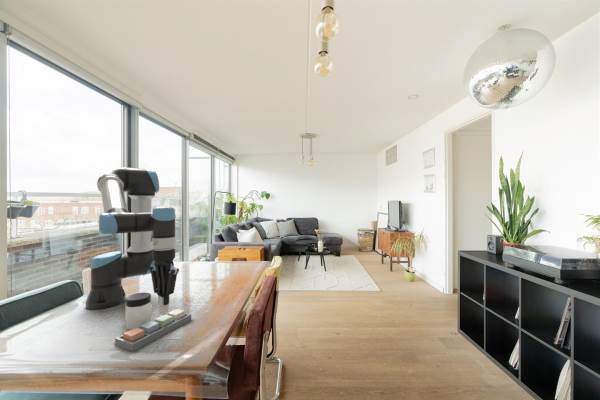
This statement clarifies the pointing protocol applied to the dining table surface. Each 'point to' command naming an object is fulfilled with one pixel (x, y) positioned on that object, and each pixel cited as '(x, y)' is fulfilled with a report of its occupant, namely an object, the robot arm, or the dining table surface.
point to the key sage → (164, 320)
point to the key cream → (177, 314)
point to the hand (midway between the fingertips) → (163, 313)
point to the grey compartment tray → (153, 334)
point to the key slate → (150, 327)
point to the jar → (138, 310)
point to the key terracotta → (133, 334)
